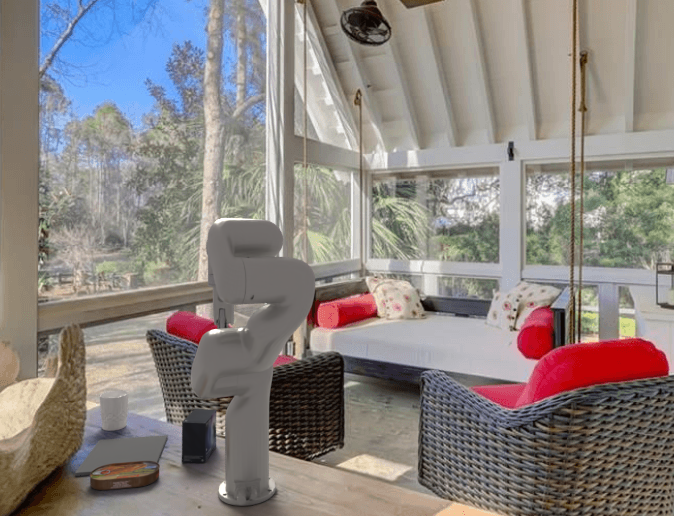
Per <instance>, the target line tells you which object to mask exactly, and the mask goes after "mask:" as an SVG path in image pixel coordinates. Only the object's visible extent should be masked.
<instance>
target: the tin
mask: <svg viewBox="0 0 674 516" xmlns="http://www.w3.org/2000/svg"><path fill="white" fill-rule="evenodd" d="M160 466H161V465H160V464H159V462H158V463H157V462H154V461H137V462H124V463H112V464H107V465H103V466H100V467H98V468H96V469H94V470H93V471H92V472H91V473H90V475H89V479H90V481H89V483H90V487H91V488H92V489H94V490H97V491H111V490H123V489H131V488H132V489H133V488H141V487H145V486H148V485H151V484H153V483H154V482H156V481H157V480H158V478H159V476H160Z"/></svg>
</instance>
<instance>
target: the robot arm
mask: <svg viewBox="0 0 674 516" xmlns="http://www.w3.org/2000/svg"><path fill="white" fill-rule="evenodd" d="M207 233H208V234H207V238H206V239H207V240H206V242H205V243H206V244H205V250H206V251H205V252H206V256H207V287H209V288H212V313H213V314H212V316H213V324H214V325H215V326H216V328H215V329H211V330H208V331H206V332H205V333H204V334H202V336H201V338H200V341H199V343H198V347H197V349H196V353H195V355H194V359H193V360H192V365H191V370H190V384H191V388H192V391H193V393H194V394H195V395H196V396H197V397H198V398H199V399H204V400H206V399H207V400H208V399H217V398H219V399H220V398H224V397H225V398H226V397H232V396H233V398H232V399H231V401H230V403H229V404H228V406H227V409H226V411H225V415H224V416H225V417H224V418H225V419H224V433H225V434H224V436H225V437H224V438H225V439H224V441H225V442H224V444H225V445H224V449H225V451H224V453H225V454H224V456H225V457H224V461H225V463H224V464H225V466H224V467H225V468H224V469H225V472H224V473H225V475H224V477H225V480H224V481H223V482H221V483H220V484H219V486H218V489H217V493H218V494H217V495H218V498H219V499H220V500H221V501H222V502H223V503H225V504H228V505H233V506H239V507H241V506H243V507H245V506H247V507H248V506H252V505H257V504H260V503H264V502H266V501H267V500H269V499H270V498H272V497H273V495H274V494H275V493H276V491H277V483H276V481H275V480H274V479H273V478H272V477H270V434H269V433H270V428H269V427H270V395H271V387H272V381H273V375H274V364H275V363H276V360H277V359H278V357H279V356H280V354H281V352H282V351H283V350H284V347H285V346H286V344H287V342H288V341H289V340H290V338H291V336H293V334H295V332H296V331H297V330H298V329H299V328H300V327H301V325H302V324H303V323H304V321H305V320H306V318H307V317H308V315H309V314H310V311H311V308H312V306H313V302H314V298H315V293H316V277H315V274H314V271H313V269H312V267H311V266H310V265H309V263H307V262H306V261H304V260H301V259H299V258H295V257H290V256H277V255H279V253H280V252H281V251H282V249H283V246H284V235H283V232H282V230H281V228H280V227H279V226H278V225H277V224H276V223H274V222H272V221H271V220H267V219H261V218H229V217H228V218H227V217H225V218H224V217H223V218H220V219H219V218H218V219H217V220H215V221H214V222H213V223H212V224H211V226H210V227H209V229H208V232H207ZM256 304H259V305H260V304H261V305H262V304H264V305H262V306H260V308H257V310H255V311H254V312H253V313H252V314H251V316H250V317H249V318H248V320H247V322H246V325H243V326H237V327H235V326H233V325H234V322H235V306H236V305H237V306H238V305H256ZM229 324H230V326H233V327H229Z"/></svg>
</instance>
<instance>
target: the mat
mask: <svg viewBox="0 0 674 516" xmlns="http://www.w3.org/2000/svg"><path fill="white" fill-rule="evenodd" d="M168 438H169V437H168V434H167V435H166V434H165V435H164V434H163V435H153V436H137V437H136V436H135V437H124V438H123V437H122V438H120V437H119V438H105V439H99V440H98V442H97V443H95V446H94V447H93V448H92V449H91V450H90V452H89V454H88V455H87V456H86V457H85V458H84V460H83V461H82V463H81V464H80V466H79V467H78V468H77V470H76V471H75V472H74V476H75V477H80V475H81V477H83V476H90V473H91V472H92V471H93V470H94V469H96V468H98V467H100V466H103V465H107V464H112V463H124V462H137V461H154V462H157V463H158V464H159V461H160V459H159V458H161V456H162V453H163V450H164V447H165V446H166V443H167V441H168Z"/></svg>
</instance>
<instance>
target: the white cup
mask: <svg viewBox="0 0 674 516" xmlns="http://www.w3.org/2000/svg"><path fill="white" fill-rule="evenodd" d="M99 405H100V409H99V411H100V419H101V428H102V430H103V431H105V432H107V431H109V432H113V431H118V430H122V429H124V428H126V427H127V424H128V420H127V418H128V414H129V413H128V412H129V411H128V410H129V391H128V390H124V389H123V390H122V389H119V390H118V389H117V390H108V391H105V392H102V393H100V395H99Z"/></svg>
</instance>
